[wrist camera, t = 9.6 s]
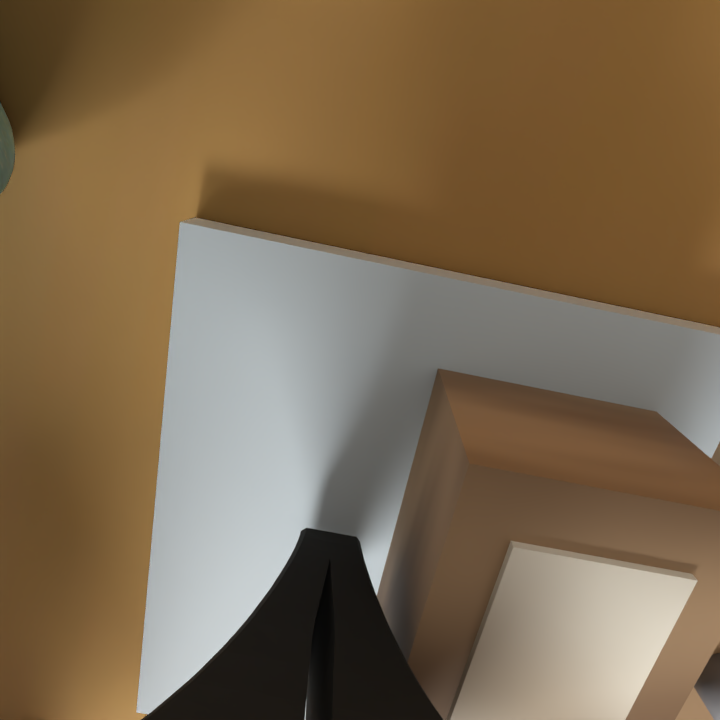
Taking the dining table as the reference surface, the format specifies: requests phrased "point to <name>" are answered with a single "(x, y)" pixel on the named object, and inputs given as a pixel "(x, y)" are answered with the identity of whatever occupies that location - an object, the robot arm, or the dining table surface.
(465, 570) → the frame
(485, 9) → the dining table surface
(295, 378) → the wall panel
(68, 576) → the dining table surface
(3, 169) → the flower pot
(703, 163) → the dining table surface
